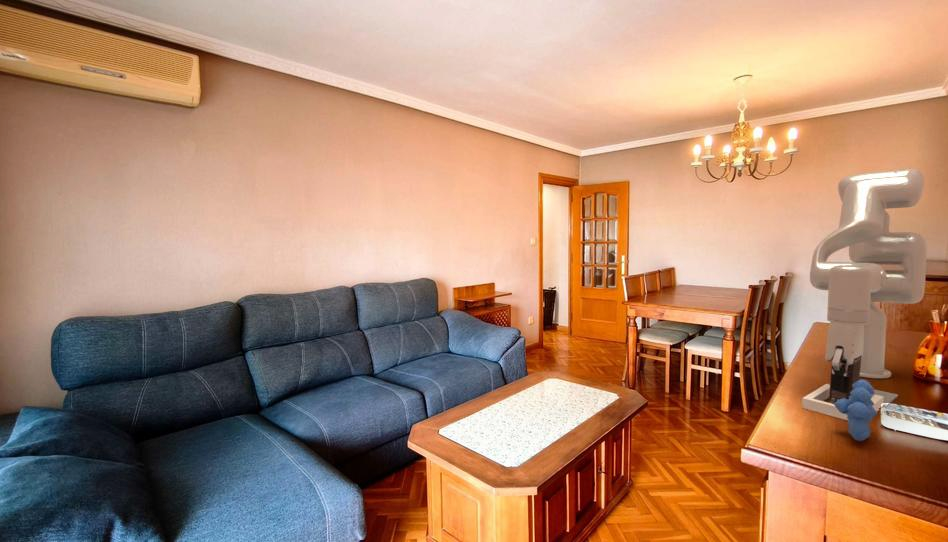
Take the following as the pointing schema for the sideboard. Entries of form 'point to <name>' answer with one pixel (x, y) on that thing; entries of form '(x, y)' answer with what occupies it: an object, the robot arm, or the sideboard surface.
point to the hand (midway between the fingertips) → (844, 387)
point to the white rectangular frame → (817, 403)
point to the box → (854, 377)
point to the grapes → (858, 409)
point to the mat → (885, 396)
